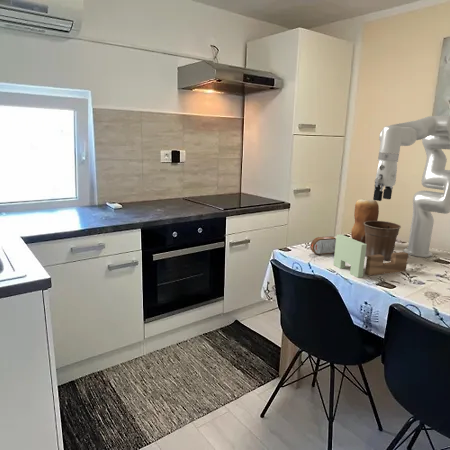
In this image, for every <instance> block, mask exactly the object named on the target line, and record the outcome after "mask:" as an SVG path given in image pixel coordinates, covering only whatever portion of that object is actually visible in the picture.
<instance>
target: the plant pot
mask: <svg viewBox="0 0 450 450" xmlns="http://www.w3.org/2000/svg"><path fill="white" fill-rule="evenodd" d="M364 225H365V244H367V245H366V253H365V257H367V256H369V255H379V254H380V255H383V256H384V261H391V255H392V253H394V250H395V245H396V240H397V237H398V235H399V232H400V229H401V228H402V226H401V225H400V224H397V223H395V222H392V221H391V222H390V221H383V220H377V221H366V222H364Z"/></svg>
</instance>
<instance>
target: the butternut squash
mask: <svg viewBox="0 0 450 450" xmlns="http://www.w3.org/2000/svg"><path fill="white" fill-rule="evenodd" d="M379 212H380V208H379V202H378V201H376V200H373V199H365V198H360V199H357V200H356V202H355V205H354V217H353V218H354V223H353V226H352V228H351V232H350V236H351V237H350V238H352V239H354V240H357V241H359V242H362V243H364V244H365V225H364V222H366V221H379V220H378V219H379V215H380V213H379Z"/></svg>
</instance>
